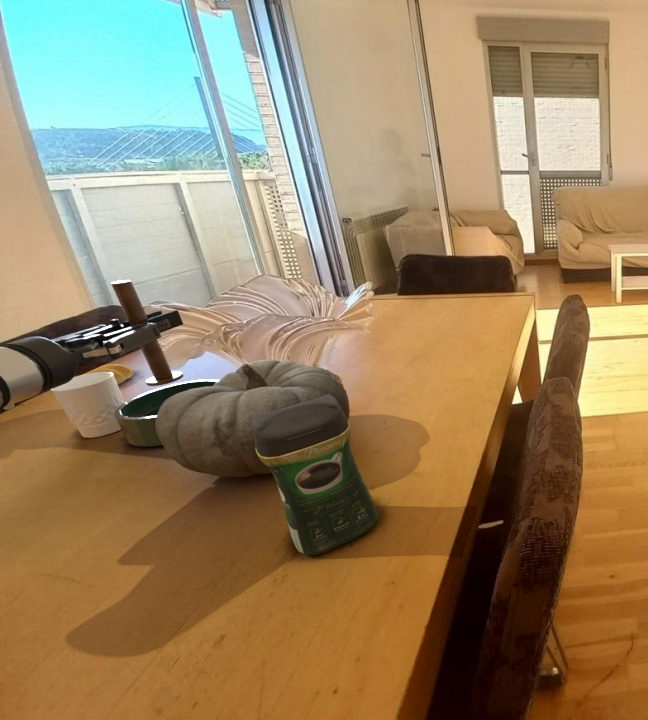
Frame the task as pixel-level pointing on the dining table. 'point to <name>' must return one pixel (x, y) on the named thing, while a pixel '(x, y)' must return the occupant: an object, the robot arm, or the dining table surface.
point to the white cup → (91, 403)
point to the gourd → (237, 414)
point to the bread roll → (115, 371)
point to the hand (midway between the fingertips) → (170, 317)
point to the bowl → (149, 412)
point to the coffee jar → (315, 473)
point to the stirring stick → (152, 349)
